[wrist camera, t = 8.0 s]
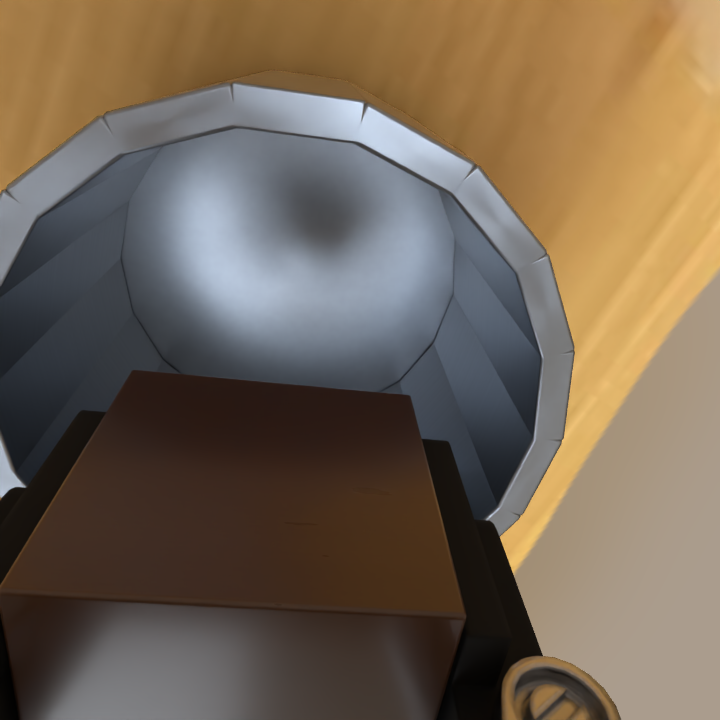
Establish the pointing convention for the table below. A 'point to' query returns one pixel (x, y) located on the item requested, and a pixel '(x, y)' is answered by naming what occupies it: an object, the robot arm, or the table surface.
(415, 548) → the brown cube
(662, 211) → the table surface
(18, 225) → the tin
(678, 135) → the table surface
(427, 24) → the table surface
